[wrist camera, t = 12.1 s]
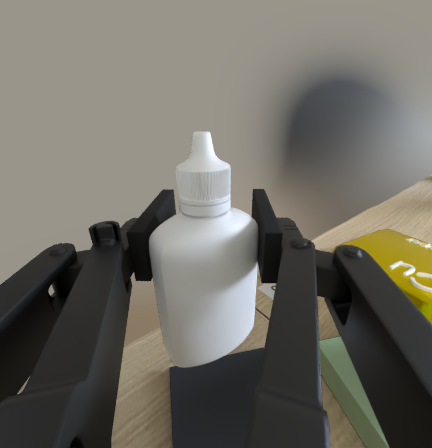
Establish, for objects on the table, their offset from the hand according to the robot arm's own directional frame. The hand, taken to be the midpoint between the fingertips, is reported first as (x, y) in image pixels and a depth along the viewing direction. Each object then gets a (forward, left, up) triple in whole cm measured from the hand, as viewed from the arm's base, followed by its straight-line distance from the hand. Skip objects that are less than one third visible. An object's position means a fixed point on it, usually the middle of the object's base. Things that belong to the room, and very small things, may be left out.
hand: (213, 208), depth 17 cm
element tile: (+29, +7, -18) cm, 35 cm away
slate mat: (0, -4, -17) cm, 18 cm away
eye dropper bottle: (-1, -5, -7) cm, 9 cm away
